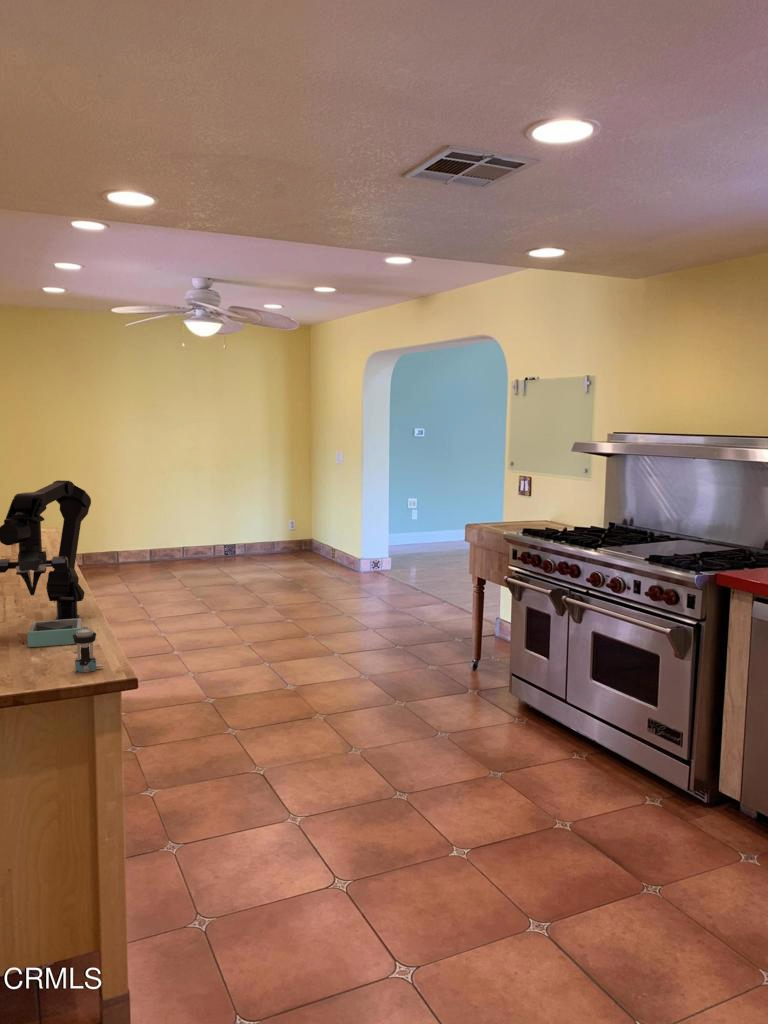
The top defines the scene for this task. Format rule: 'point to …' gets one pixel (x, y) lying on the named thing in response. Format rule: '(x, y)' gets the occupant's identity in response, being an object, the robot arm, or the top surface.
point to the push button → (85, 651)
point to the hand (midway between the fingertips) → (32, 595)
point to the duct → (74, 622)
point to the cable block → (53, 626)
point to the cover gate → (51, 637)
